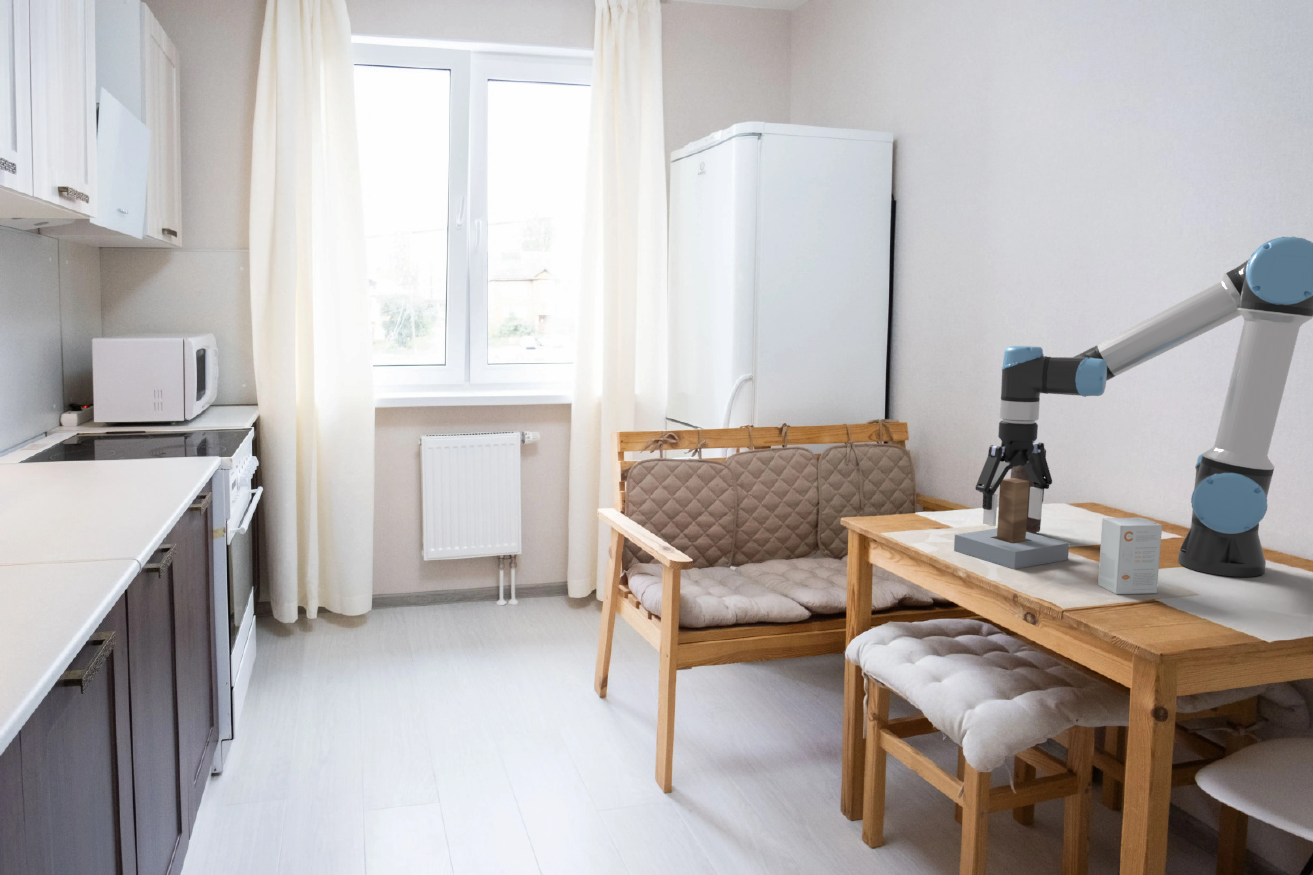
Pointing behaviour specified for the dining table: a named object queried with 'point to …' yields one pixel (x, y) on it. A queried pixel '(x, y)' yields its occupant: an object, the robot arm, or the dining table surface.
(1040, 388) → the robot arm
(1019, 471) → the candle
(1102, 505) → the dining table surface
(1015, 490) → the peg
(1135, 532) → the small box
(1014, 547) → the socket
